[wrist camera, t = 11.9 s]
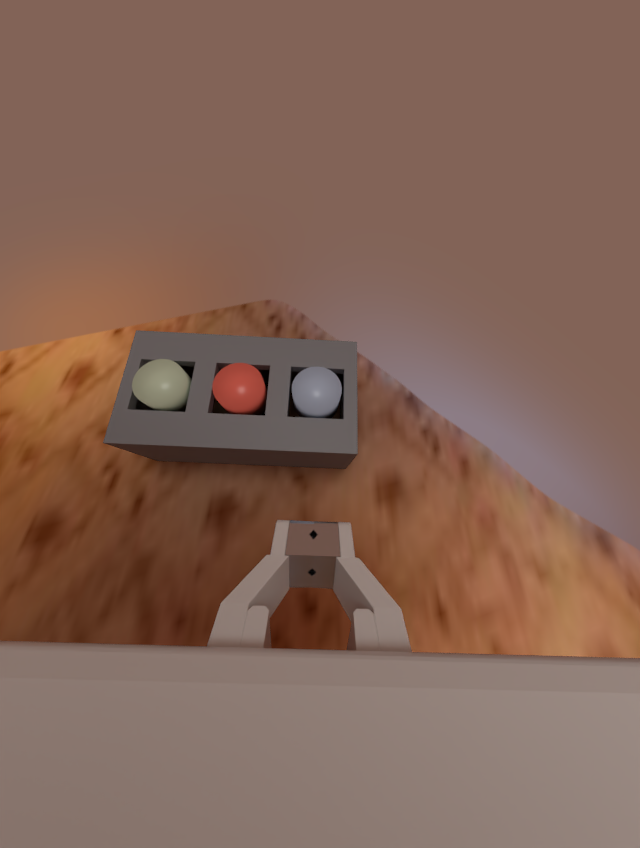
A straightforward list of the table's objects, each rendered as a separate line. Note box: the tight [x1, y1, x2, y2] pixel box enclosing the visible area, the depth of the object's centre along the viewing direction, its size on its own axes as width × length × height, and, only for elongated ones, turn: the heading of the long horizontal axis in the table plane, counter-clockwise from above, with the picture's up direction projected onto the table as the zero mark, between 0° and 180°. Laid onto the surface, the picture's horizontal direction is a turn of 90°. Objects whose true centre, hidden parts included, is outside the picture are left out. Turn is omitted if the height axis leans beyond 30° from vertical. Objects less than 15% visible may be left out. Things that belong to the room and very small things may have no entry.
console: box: [103, 331, 357, 469], centre depth 31 cm, size 23×12×9 cm, turn 88°
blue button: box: [292, 367, 342, 419], centre depth 27 cm, size 5×5×4 cm
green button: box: [132, 359, 192, 412], centre depth 27 cm, size 5×5×4 cm
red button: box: [212, 363, 267, 415], centre depth 27 cm, size 5×5×4 cm
